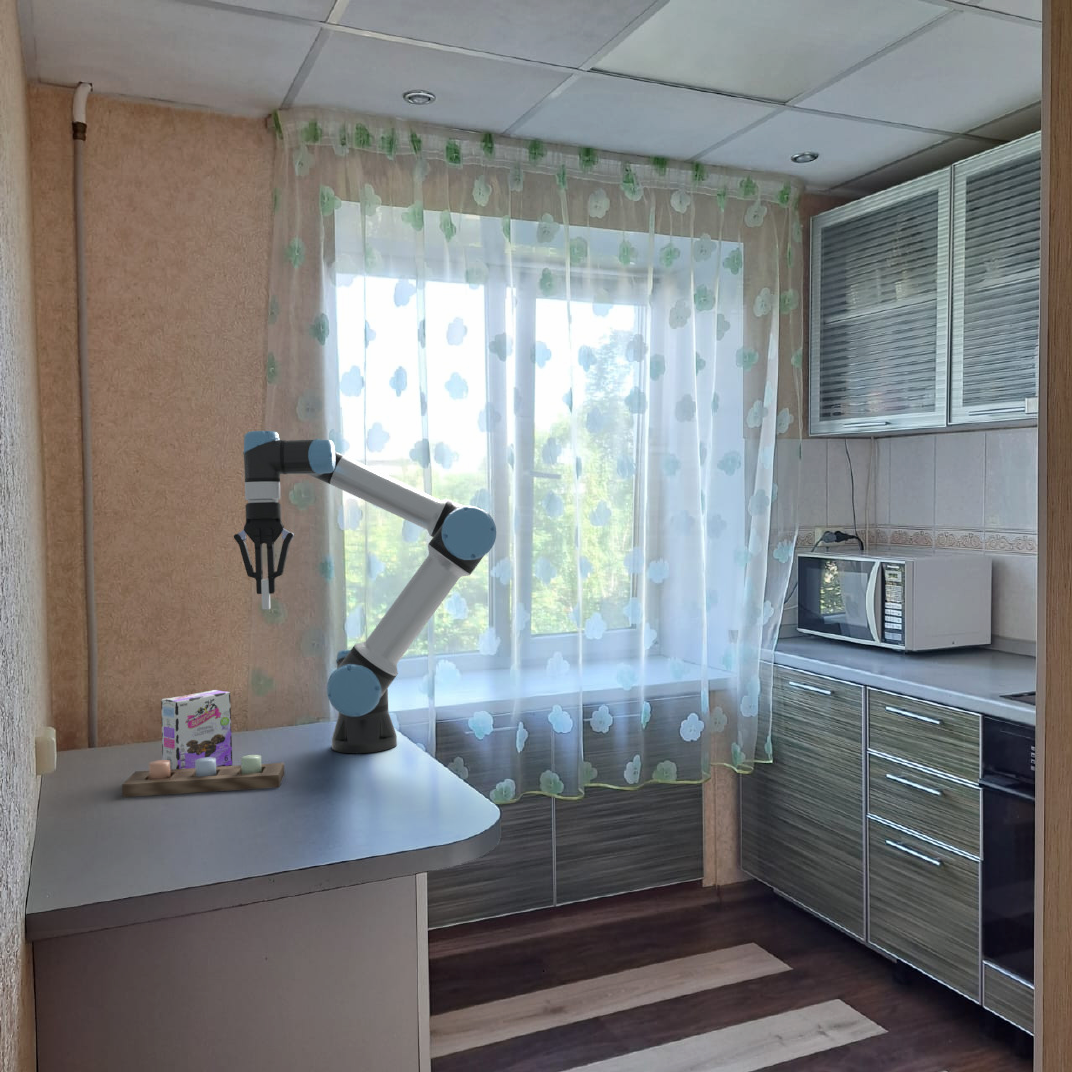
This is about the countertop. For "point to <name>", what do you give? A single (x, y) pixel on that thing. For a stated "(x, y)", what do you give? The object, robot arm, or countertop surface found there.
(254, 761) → the button sage
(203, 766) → the button blue
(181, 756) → the candy box
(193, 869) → the countertop surface
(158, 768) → the button terracotta
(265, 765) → the panel
